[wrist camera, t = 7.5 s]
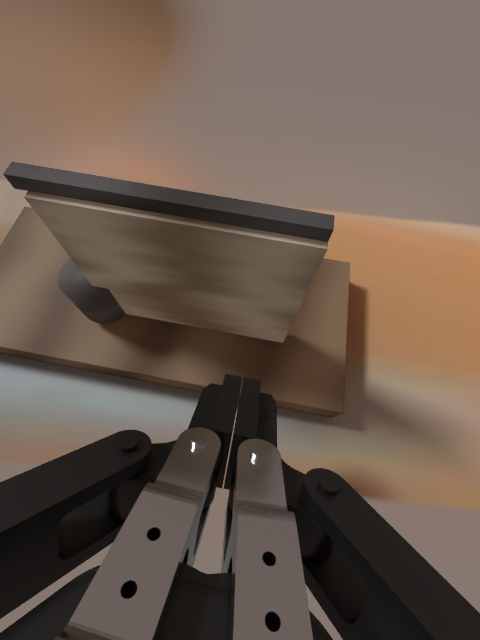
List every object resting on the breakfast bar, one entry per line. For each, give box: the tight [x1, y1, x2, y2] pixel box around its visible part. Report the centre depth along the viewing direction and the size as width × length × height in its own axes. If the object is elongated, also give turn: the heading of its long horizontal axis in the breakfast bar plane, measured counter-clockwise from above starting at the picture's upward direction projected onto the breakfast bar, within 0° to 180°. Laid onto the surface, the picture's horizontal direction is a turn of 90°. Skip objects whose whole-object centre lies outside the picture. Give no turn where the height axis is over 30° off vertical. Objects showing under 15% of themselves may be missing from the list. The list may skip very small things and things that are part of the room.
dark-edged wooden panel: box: [4, 162, 334, 343], centre depth 15 cm, size 12×3×10 cm, turn 80°
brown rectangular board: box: [0, 207, 350, 417], centre depth 21 cm, size 24×10×2 cm, turn 80°
